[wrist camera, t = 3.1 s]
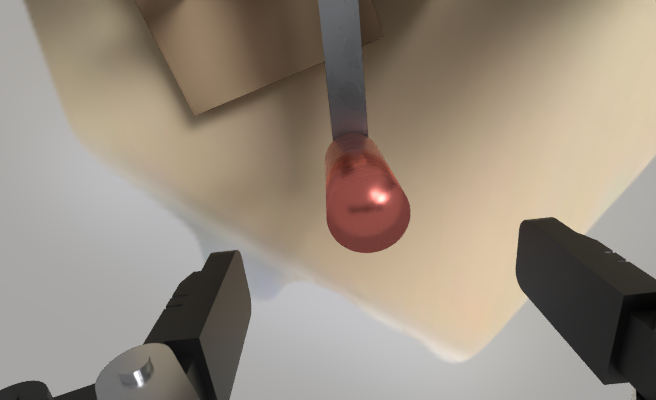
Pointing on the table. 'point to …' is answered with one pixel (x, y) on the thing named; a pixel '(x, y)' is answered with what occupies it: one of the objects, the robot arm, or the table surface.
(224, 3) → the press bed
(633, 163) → the table surface
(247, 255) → the table surface
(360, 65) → the lever
